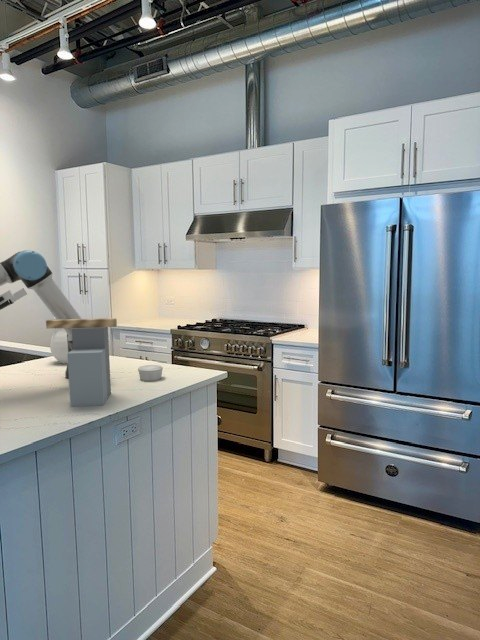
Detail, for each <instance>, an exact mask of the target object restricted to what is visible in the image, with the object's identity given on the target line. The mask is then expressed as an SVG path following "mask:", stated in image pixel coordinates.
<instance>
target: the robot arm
mask: <svg viewBox="0 0 480 640" xmlns="http://www.w3.org/2000/svg"><path fill="white" fill-rule="evenodd" d="M17 281H21V283H23V284H24V286H25V287H26V288H27V289H29V290H32V291H34V293H35V294H36V295H37V296H38V297H39V298H40V300H41V301H42V303H43V304H44V305H45V307H46V308H47V309H48V310H49V312H50V313H51V315H52V316H53V318H54V317H55V318H56V319H57V320H64V319H83V318H82V316H81V317H80V315H79V313H78V312H77V310H76V309H75V308H74V306H73V305H72V303H71V302H70V301H69V299H68V298H67V297H66V295H65V294H64V293H63V291H62V290H61V289H60V288H59V286H58V285H57V283H56V282H55V281H54V280H53V272H52V270H51V269H50V268H49V266H48V263H47V261H46V259H45V257H44V256H43V255H42V254H41V253H39V252H37V251H35V250H30V249H25V250H22V251H18V252H15V253H13V254H12V255H11V256H10V257H8V258H6V259H5V260H3V261H1V262H0V287H2V286H4V285H6V284H14V283H16V282H17ZM26 295H28V293H27V291H26V289H24V288H21V289H19V290H17V291H16V292H14V293H13V292H12V291H11V289H10V290H7V291H6V292H4V293H2V294H0V311H1V310H2V309H5V308H7V307H8V306H11V305H12V304H14V303H15V302H16V301H18V300H20V299H21V298H23V297H25V296H26ZM63 329H64V330H65V331H66V332H67V344H68V353H69V352H70V351H71V350H73V342H72V328H63ZM64 373H65V374H64V375H65V378H66V379H68V380H69V373H68V364H66V369H65V372H64Z"/></svg>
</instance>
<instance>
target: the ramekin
mask: <svg viewBox="0 0 480 640" xmlns="http://www.w3.org/2000/svg"><path fill="white" fill-rule="evenodd" d="M137 371H138V375H139V378H140V380H141V381H144V382H154V381H155V382H156V381H158V380H161V378H162V375H163V366H162V365H159V364H148V365H142V366H139V367H138V368H137Z"/></svg>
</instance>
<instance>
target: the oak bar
mask: <svg viewBox="0 0 480 640" xmlns="http://www.w3.org/2000/svg"><path fill="white" fill-rule="evenodd" d="M117 323H118V321H117V318H116V317H115V318H111V317H110V318H107V317H106V318H82V319H64V320H54V319H47V320H45V326H46V327H45V328H46V329H52V328H56V329H57V328H88V327H108V328H113V327H114V328H116V327H118V324H117Z"/></svg>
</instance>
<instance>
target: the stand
mask: <svg viewBox="0 0 480 640" xmlns="http://www.w3.org/2000/svg"><path fill="white" fill-rule="evenodd" d="M72 342H73V350H71V351H70V352H69V353H67V356H68V373H69V379H68V386H69V387H68V388H69V404H70V407H82V406H83V407H86V406H87V407H90V406H91V407H92V406H104V405H105V404H106V402H107V401H108V399H109V397H110V395H111V394H112V389H111V386H112V385H111V369H110V368H111V367H110V347H109V346H110V345H109V343H110V342H109V327H88V328H72Z"/></svg>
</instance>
